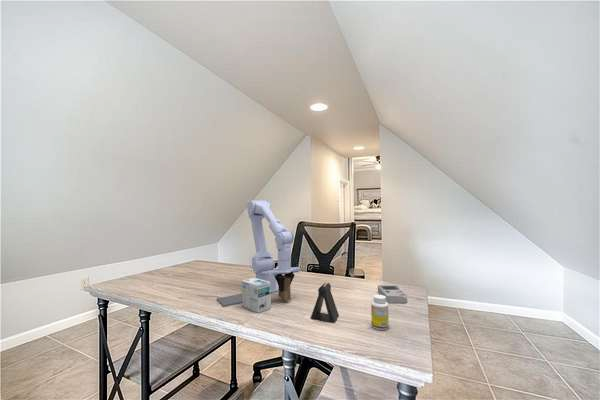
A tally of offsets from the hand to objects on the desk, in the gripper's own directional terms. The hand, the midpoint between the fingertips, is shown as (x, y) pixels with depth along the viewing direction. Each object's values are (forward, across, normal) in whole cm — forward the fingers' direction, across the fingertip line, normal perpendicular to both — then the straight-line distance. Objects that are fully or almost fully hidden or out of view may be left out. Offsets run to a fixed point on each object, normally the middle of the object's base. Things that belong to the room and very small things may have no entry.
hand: (284, 290), depth 114 cm
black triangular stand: (+4, +4, -23) cm, 24 cm away
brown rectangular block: (+3, 0, 0) cm, 3 cm away
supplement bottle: (+4, +15, -39) cm, 42 cm away
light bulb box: (+5, -13, 0) cm, 14 cm away
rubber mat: (+4, -18, +13) cm, 23 cm away
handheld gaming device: (+5, +42, -22) cm, 48 cm away
